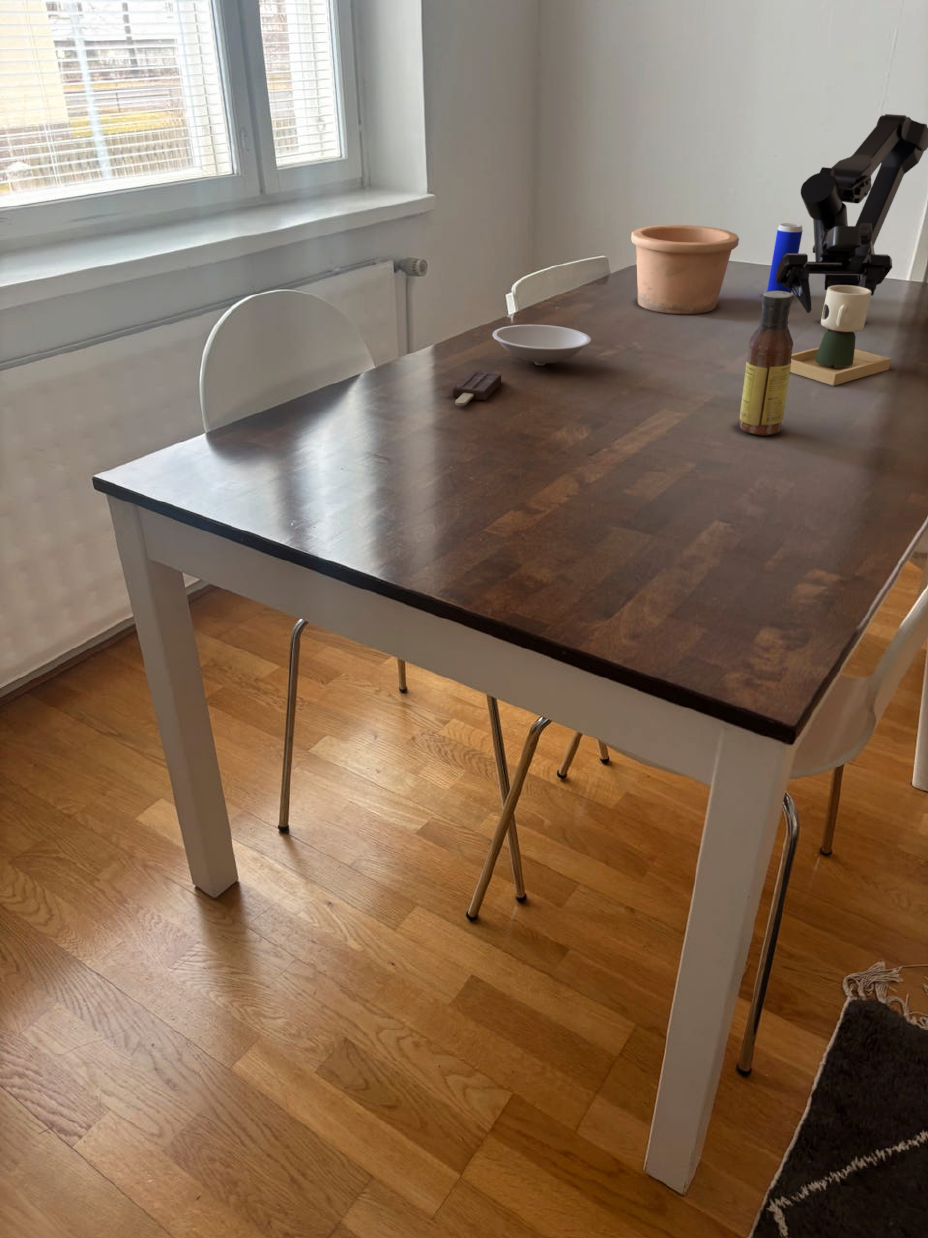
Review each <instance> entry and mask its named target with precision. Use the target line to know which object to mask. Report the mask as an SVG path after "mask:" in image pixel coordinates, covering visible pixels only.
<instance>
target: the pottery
mask: <svg viewBox="0 0 928 1238" xmlns="http://www.w3.org/2000/svg"><path fill="white" fill-rule="evenodd" d="M630 239H631V243H632V245H635V247H636V248H635V250H636V251H635V252H636V279H637V281H636V282H637V283H636V284H637V304H638V305H639V306H640V307H642V308H643V309H645V310H648V311H652V312H655V313H656V312H657V313H662V314H671V315H697V314H705V313H708V312H711V311H713V310H714V309H715V308H716V307H717V304H718V301H719V297H720V293H721V290H722V285H723V282H724V279H725V275H726V271H727V268H728V266H729V261H730V258H731V254H732V251H733V250H734V249H736V248H737V247H738V246H739V244H740V243H739V242H740V237H739V236H738V234H737V233H734V232H733V231H729V230H727V229H722V228H717V227H710V226H702V225H692V224H691V225H689V224H660V225H648V226H644V227H640V228H637V229H635V230H633V231H631V237H630Z"/></svg>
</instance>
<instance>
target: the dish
mask: <svg viewBox="0 0 928 1238" xmlns="http://www.w3.org/2000/svg"><path fill="white" fill-rule="evenodd" d="M492 337H493V339H494V340H495V341H496V342H497V341H498V342H499V344H500V345H501V346H502V348H504V349H505V350H506V352H508V353H509V354H510V355H512V356H513V357H515V358H518V359H520V360H522V361H525V362H529V363H534V364H535V365H536V366H545V365H546V364H554V363H559V362H564V361H567V360H569V359H570V358H572V357H574V356H575V355H577V354H578V353H579V352H581V351H582V350H583V349H584V347H586V346H588V345H590V344H591V342H592V338H591V336H590V335H588V334H586V333H585V332H582V331H580V330H577V329H573V328H569V327H563V326H558V325H557V326H556V325H547V324H515V325H507V326H503V327H500V328H497V329H495V330H494V331H493V332H492Z"/></svg>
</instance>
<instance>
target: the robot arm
mask: <svg viewBox="0 0 928 1238" xmlns="http://www.w3.org/2000/svg"><path fill="white" fill-rule="evenodd" d="M927 150H928V125H927V123H923V122H922V123H921V122H918V121H916V120H913V119H911V117H910V116H907V115H906V114H892V113H891V114H890V113H885V114H884V115H883V114H882V115H880V116H879V118H878V120H877V122H876V125H875V127H874V128H873V129H872V130H871V132H870V133H868V135H867V137H866V138H865V139H864V140H863V142H862V143H860V145H859V147H858V148H857V149H856V150H855V152H854V153H853V154H852V155H851V156H848V157H846V158H843V159H840V160H839V161H838V162H836V163H835V164H833V166H831V167H825V166H822V167H821V169H820V171H819V172H818V173H814V174H812V175H811V176H809V177H808V178H807V179H806V180H805V181H804V182H803V183H802V185H801V187H800V196H801V200H802V201H803V204H804V206H805V209H806V211H807V214H808V215H809V217H810V218H811V219H812V220H813V221H812V223H813V241H814V242H813V243H814V245H813V246H812V254H814V258H815V259H814V261H809V256H808V254H807V253H798V254H797V253H787V254H786V255H785V256H784V257H783V258H782V260H781V262H780V264H779V266H778V268H777V272H776V282H777V283H778V284H784V287H785V288H789V289H790V290H791V293H792V294H793V295H794V296H796V299H797V300H798V301H799V303H800V304H801V306H802V308H803V309H804V310H805V312H806V313H807V314H810V313H811V311H812V295H811V288H810V275H824V291H827V289H828V287H830V286H835V285H850V286H858V287H863V288H867V289H869V290H871V297H873V296H874V294H875V292H876V289H877V286H878V285H880V284H882V283H883V281H884V280H885V279H886V277H887V276H888V274H890V273H889V272H890V271H891V270H892V269H893V259H892V257H891V255H889V254H882V253H881V254H879V253H878V254H877V253H876V252H875V248H874V247H875V244H876V241H877V239H878V237H879V234H880V233H881V230H882V228H883V226H884V225H883V224H884V222H885V221H886V218H887V215H888V213H889V211H890V209H891V206H892V204H893V202H894V199H895V197H896V195H897V192H898V190H899V188H900V185H901V183H902V181H903V179H904V176H905V174H907V173H908V172H909V171H911V169H913V168H915V167H916V166H917V165H918V164H919V162H920V160H921V159H922V157H923V154H924V153H925V151H927ZM878 168H879V169H878ZM877 169H878V170H877ZM876 170H877V174H876V175H875V178H874V180H873V183H872V175H873V174H874V173H875V171H876ZM865 198H866V200H865V202H864V204H863V207H862V209H861V211H860V214H859V216H858V218H857V220H856V223H855V225H849V224H848V207H847V205H846V204H845V203H848V204H857V205H858V204H860V203H861V202H862V201H864V199H865Z"/></svg>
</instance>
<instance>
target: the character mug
mask: <svg viewBox="0 0 928 1238" xmlns="http://www.w3.org/2000/svg"><path fill="white" fill-rule="evenodd" d="M871 297H872V296H871V290H869V289H867V288H863V287H858V286H850V285H835V286H830V287H828V289H827V290H826V294H825V298H824V304H823V307H822V313H821V319H820V325H821V326H822V327H824V328H826V331H825V332H824V333H823V336H822V339H821V342H820V344H819V346H818V347H819V350H818V354H817V357H816V360H815V361H816V362H817V363H819V364H822V365H831V368H833V367H834V366H851V365H852V364H853V360H854V352H855V349H856V339H857V338H856V332H858V331H862V330H864V327H865V323H866V319H867V316H868V310H869V306H870V302H871Z"/></svg>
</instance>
